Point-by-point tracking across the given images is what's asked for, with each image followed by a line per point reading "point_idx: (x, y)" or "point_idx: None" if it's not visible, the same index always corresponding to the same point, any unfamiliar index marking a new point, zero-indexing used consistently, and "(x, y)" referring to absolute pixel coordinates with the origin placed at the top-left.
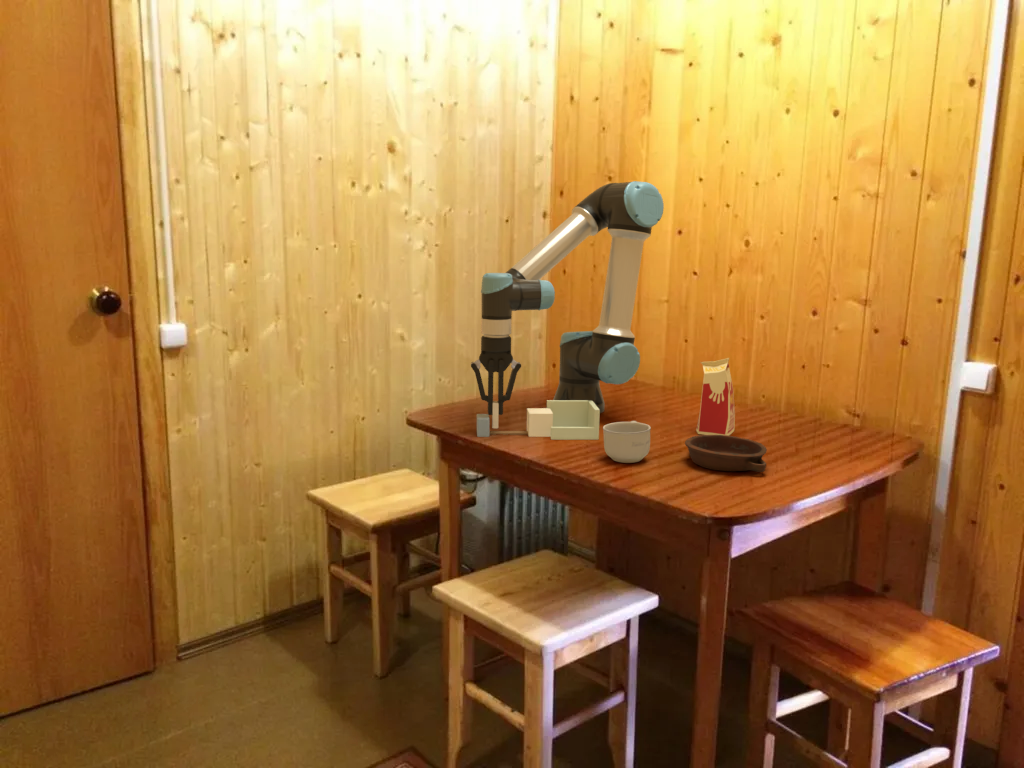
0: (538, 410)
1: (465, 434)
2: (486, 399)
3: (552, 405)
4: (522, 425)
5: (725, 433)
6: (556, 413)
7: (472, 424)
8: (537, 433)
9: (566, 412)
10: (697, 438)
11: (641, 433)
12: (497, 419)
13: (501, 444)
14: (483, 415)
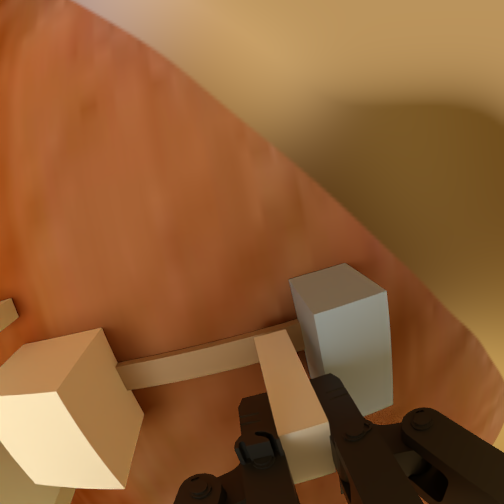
0: (52, 455)
1: (398, 288)
2: (390, 434)
3: (37, 501)
4: (186, 471)
5: None
6: None
7: None
8: (63, 341)
9: (8, 475)
10: None
11: None
12: (266, 361)
13: (196, 145)
14: (358, 391)
